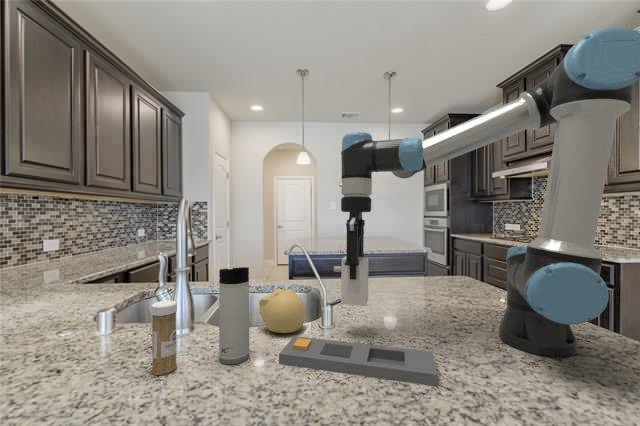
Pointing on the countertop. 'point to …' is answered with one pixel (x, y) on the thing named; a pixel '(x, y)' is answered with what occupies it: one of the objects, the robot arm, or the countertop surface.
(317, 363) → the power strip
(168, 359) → the sprinkles bottle
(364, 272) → the block
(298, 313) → the tan round potato
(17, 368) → the countertop surface
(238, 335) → the travel mug
